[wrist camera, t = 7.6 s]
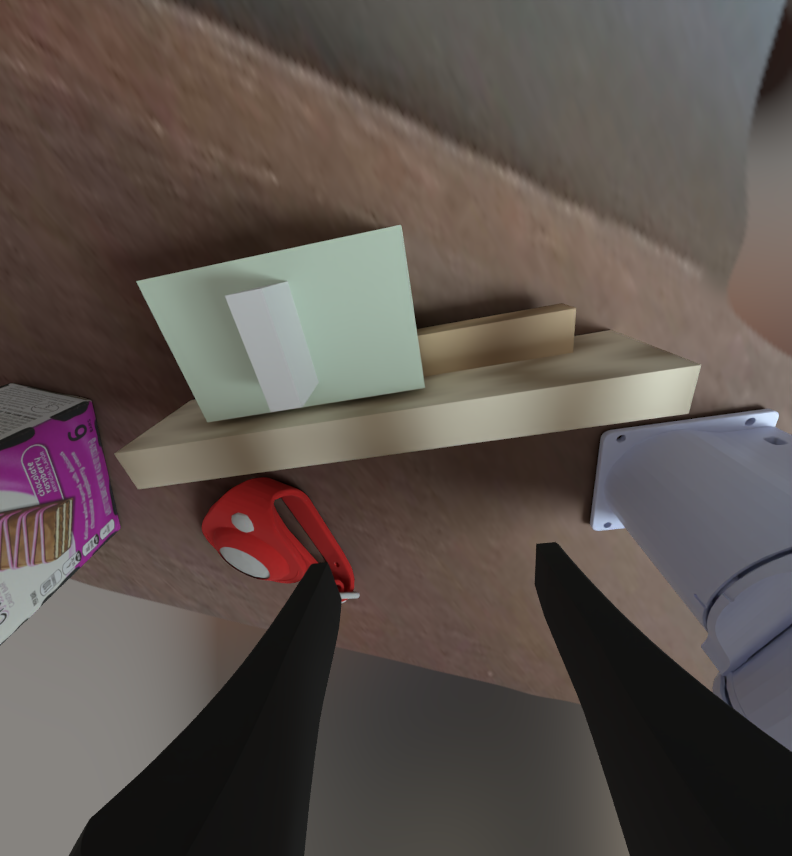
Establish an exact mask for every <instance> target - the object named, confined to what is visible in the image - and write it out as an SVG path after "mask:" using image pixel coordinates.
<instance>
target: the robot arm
mask: <svg viewBox="0 0 792 856" xmlns="http://www.w3.org/2000/svg"><path fill="white" fill-rule="evenodd" d="M778 417H779V414H778V412H776V411H774V410H772V409H761V410H754V411H746V412H739V413H732V414H724V415H717V416H709V417H702V418H695V419H687V420H680V421H673V422H665V423H658V424H651V425H643V426H636V427H629V428H621V429H614V430H608V431H606V432H604V433H603V434H602V436H601V439H600V447H599V455H598V463H597V471H596V479H595V487H594V494H593V502H592V510H591V518H590V525H591V527H592V528H593V529H594V530H596V531H601V530H610V529H620V528H626V529H627V531H628V532H629V533H630V535H631V536H632V537H633V538H634V540H635V541H636V542H637V543H638V545H639V546H640V547H641V548H642V550H643V551H644V552H645V554H646V555H647V556H648V557H649V559H650V560H651V561H652V562H653V564H654V565H655V566H656V568H657V569H658V570H659V571H660V573H661V574H662V575H663V576H664V578H665V579H666V580H667V581H668V583H669V584H670V585H671V587H672V588H673V589H674V590H675V592H676V593H677V594H678V595H679V597H680V598H681V599H682V600H683V602H684V603H685V604H686V606H687V607H688V608H689V609H690V611H691V612H692V613H693V614H694V616H695V617H696V618H697V619H698V621H699V622H700V623H701V625H702V626H703V627H704V628H705V630H706V631H707V632H708V637H707V639H706V640H705V642H704V643H703V644H702V645H701V648H702V649H703V650H704V652H705V653H706V654H707V656H708V657H709V658H710V660H711V661H712V662H713V664H714V665H715V666H716V668H717V669H718V670H719V673H718V674H717V676H716V677H715V679H714V683H713V687H712V689H713V692H711V691H710V690H709V689H707V688H706V687H705V686H704V685H703V684H701V683H700V682H699V681H698V680H696V679H695V678H694V677H693V676H692V675H690V674H689V673H688V672H687V671H685V670H684V669H683V668H682V667H681V666H680V665H678V664H677V663H676V662H675V661H674V660H673V659H671V658H670V657H669V656H668V655H667V654H666V653H664V652H663V651H662V650H661V649H660V648H659V647H658V646H656V645H655V644H654V643H653V642H652V641H651V640H650V639H649V638H648V637H647V636H645V635H644V634H643V633H642V632H641V631H640V630H639V629H638V628H637V627H636V626H635V625H634V624H633V623H632V622H631V621H629V620H628V619H627V618H626V617H625V616H624V615H623V614H622V613H621V612H620V611H619V610H618V609H617V608H616V607H615V606H614V605H613V604H612V603H611V602H610V601H609V600H608V599H607V598H606V597H605V596H604V595H603V593H602V592H601V591H600V590H599V589H598V588H597V587H596V586H595V585H594V584H593V583H592V582H591V581H590V580H589V579H588V578H587V577H586V575H585V574H584V573H583V572H582V571H581V570H580V569H579V568H578V567H577V565H576V564H575V563H574V562H573V561H572V560H571V559H570V557H569V556H568V555H567V554H566V553H565V552H564V550H563V549H562V548H561V547H560V546H559V544H557V543H556V542H552V543H541V544H536V566H535V587H536V590H537V594H538V597H539V600H540V604H541V607H542V610H543V613H544V616H545V619H546V621H547V624H548V626H549V629H550V631H551V633H552V636H553V638H554V641H555V643H556V645H557V648H558V650H559V653H560V655H561V657H562V660H563V662H564V664H565V667H566V669H567V671H568V674H569V676H570V679H571V681H572V683H573V686H574V688H575V690H576V693H577V695H578V698H579V700H580V703H581V706H582V708H583V711H584V714H585V717H586V720H587V722H588V725H589V729H590V731H591V734H592V737H593V740H594V743H595V746H596V749H597V752H598V755H599V759H600V761H601V765H602V768H603V771H604V774H605V777H606V780H607V783H608V786H609V790H610V793H611V796H612V799H613V802H614V805H615V809H616V812H617V815H618V818H619V822H620V825H621V828H622V831H623V835H624V838H625V841H626V844H627V848H628V851H629V854H630V856H792V435H791V434H789V433H786V432H784V431H782V430H780V429H778V428H776V427H775V425H776V423H777V420H778ZM746 420H747V421H746ZM620 435H622V436H621V438H619V439H617V437H619V436H620ZM341 602H342V598H341V595H340V593H339V590H338V587H337V585H336V582H335V580H334V577H333V574H332V572H331V569H330V566H329V564H328V562H325V563H314V564H311V565H310V566H309V568H308V569H307V571H306V573H305V574H304V576H303V577H302V579H301V580H300V582H299V584H298V585H297V587H296V588H295V590H294V591H293V593H292V595H291V596H290V598H289V599H288V601H287V602H286V604H285V605H284V607H283V608H282V610H281V611H280V613H279V614H278V615H277V617H276V618H275V620H274V621H273V623H272V624H271V626H270V627H269V629H268V630H267V631H266V633H265V634H264V635H263V637H262V638H261V639H260V641H259V642H258V644H257V645H256V646H255V648H254V649H253V650H252V652H251V653H250V654H249V656H248V657H247V658H246V659H245V661H244V662H243V664H242V665H241V666H240V667H239V668H238V670H237V671H236V672H235V673H234V674H233V676H232V677H231V678H230V679H229V680H228V682H227V683H226V684H225V685H224V686H223V688H222V689H221V690H220V691H219V692H218V693H217V694H216V696H215V697H214V698H213V699H212V700H211V701H210V702H209V703H208V705H207V706H206V707H205V708H204V709H203V710H202V711H201V712H200V713H199V715H198V716H197V717H196V718H195V719H194V720H193V721H192V722H191V723H190V724H189V725H188V726H187V727H186V728H185V729H184V731H182V732H181V733H180V734H179V735H178V736H177V738H175V739H174V740H173V741H172V743H170V744H169V745H168V746H167V748H166V749H165V750H163V751H162V752H161V754H160V755H159V756H158V757H157V758H156V759H155V760H153V761H152V762H151V763H150V764H149V765H148V766H147V767H146V768H145V769H144V770H143V771H142V772H141V773H140V774H139V775H138V776H137V777H136V778H135V779H134V780H132V781H131V782H130V783H129V784H128V785H127V786H126V787H125V788H123V789H122V790H121V791H120V792H119V793H118V794H117V795H116V796H115V797H114V798H113V799H111V800H110V801H109V802H108V803H107V804H106V805H105V806H104V807H103V808H102V809H100V810H99V811H98V812H97V813H96V814H95V815H94V816H92V817H91V819H90V820H89V821H88V823H87V825H86V826H85V828H84V830H83V832H82V833H81V835H80V837H79V838H78V840H77V842H76V844H75V846H74V847H73V849H72V851H71V853H70V854H69V856H304V851H305V840H306V831H307V821H308V811H309V800H310V792H311V784H312V775H313V767H314V759H315V751H316V744H317V737H318V729H319V722H320V716H321V711H322V705H323V700H324V696H325V691H326V687H327V682H328V678H329V673H330V668H331V664H332V659H333V654H334V649H335V645H336V640H337V635H338V631H339V622H340V613H341Z"/></svg>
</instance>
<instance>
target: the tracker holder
mask: <svg viewBox="0 0 792 856" xmlns="http://www.w3.org/2000/svg"><path fill="white" fill-rule="evenodd" d="M278 498H282V499H283V501H284V502H285V504H286V505H287V506H288V508H289V509H290V511H291V512H292V513H293V515H294V516H295V518H296V519H297V520H298V522H299V523H300V525H301V526H302V527H303V529H304V530H305V532H306V533H307V534H308V536H309V537H310V539H311V540H312V541H313V543H314V544H315V546H316V547H317V549H318V550H319V551H320V553H321V554H322V555H323V556H324V558H325V560H326V562H328V564H329V566H330V569H331V571H332V574H333V577H334V580H335V582H336V585H337V587H338V590H339V593H340V595H341V598H342V602H341V603H343V602H345V601H346V600H347V599H350V598H359V593H358V592H354V591H353V589H354V575H353V571H352V568H351V565H350V563H349V562H348V560H347V558H346V556H345V554H344V553H343V551H342V549H341V548H340V546H339V545H338V543H337V541H336V540H335V538H334V537H333V535H332V534H331V532H330V530H329V529H328V527H327V526H326V524H325V522H324V521H323V519H322V518H321V516H320V515H319V513H318V511H317V510H316V508H315V507H314V505H313V503H312V502H311V500H310V499H309V497H308V496H307V495H306V494H305V493H304V492H302V491H301V490H299V489H296V488H294V487H291V486H289V485H286V484H283V483H281V482H278V481H276V480H273V479H270V478H266V477H262V478H254V479H250V480H247V481H245V482H243V483H241V484H239V485H237V486H235V487H233V488H232V489H230V490H229V491H227V492H226V493H225V494H224V495H223V496H222V497H221V498H220V499H219V500H218V501H217V502H216V503H214V505H213V506H212V507H211V508H210V509H209V511H208V513H207V514H206V516H205V518H204V520H203V523H202V532H203V534H204V536H205V537H206V539H207V540H208V541H209V543H210V544H211V545H212V546H213V547H214V548H215V549H216V550H217V551H218V553H219V554H220V556H221V557H222V558H223V559H224V560H225V561H226V562H227V563H228V564H229V565H231V566H232V567H233V568H235V569H236V570H238V571H240V572H242V573H244V574H246V575H248V576H250V577H253V578H257V579H261V580H271V581H275V582H280V583H295V582H298V581H300V580H301V579H302V577H303V576H304V574H305V573H306V571H307V569H308V568H309V566H310V565H311V564H314V563H318V562H317V561H316V560H315V559H314V557H313V556H312V555H311V554H310V553H309V552H308V551H307V550H306V549H305V547H304V546H303V545H302V544H301V543H300V542H299V541H298V540H297V538H296V537H295V536H294V535H293V534H292V533H291V532H290V531H289V530H288V528H287V527H286V526H285V524H284V522H283V521H282V519H281V518H280V516H279V514H278V513H277V511H276V509H275V506H274V500H275V499H278Z"/></svg>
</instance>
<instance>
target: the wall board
mask: <svg viewBox="0 0 792 856" xmlns="http://www.w3.org/2000/svg"><path fill="white" fill-rule="evenodd" d="M575 317H576V308H574V307H571V306H568V305H565V304H562V303H561V304H556V305H550V306H544V307H539V308H533V309H527V310H522V311H516V312H510V313H505V314H499V315H494V316H488V317H482V318H477V319H471V320H465V321H460V322H454V323H448V324H443V325H437V326H432V327H426V328H420V329H417V335H418V342H419V349H420V356H421V362H422V369H423V376H424V384H425V388H422V389H416V390H409V391H403V392H397V393H390V394H384V395H378V396H371V397H365V398H359V399H352V400H346V401H340V402H333V403H327V404H321V405H314V406H308V407H302V408H295V409H289V410H283V411H277V412H270V413H264V414H258V415H251V416H245V417H239V418H232V419H226V420H220V421H213V422H207V421H206V419H205V417H204V415H203V413H202V411H201V409H200V407H199V405H198V403H197V401H196V399H194V400H190V401H189V402H188V403H186V404H185V405H183V406H182V407H180V408H179V409H178V410H176V411H175V412H173V413H172V414H170V415H169V416H168V417H166V418H165V419H163V420H162V421H160V422H159V423H157V424H156V425H155V426H153V427H152V428H150V429H149V430H147V431H146V432H145V433H143V434H142V435H140V436H139V437H137V438H136V439H135V440H133V441H132V442H130V443H129V444H127V445H126V446H125V447H123V448H122V449H120V450H119V451H117V452H116V453H114V455H115V456H116V458H117V459H118V461H119V462H120V464H121V465H122V466H123V468H124V469H125V471H126V472H127V474H128V475H129V477H130V478H131V480H132V481H133V483H134V484H135V485H136V487H137V488H138V489H144V488H152V487H159V486H166V485H173V484H181V483H188V482H195V481H202V480H210V479H217V478H224V477H231V476H239V475H246V474H253V473H261V472H268V471H275V470H282V469H290V468H297V467H304V466H311V465H319V464H326V463H333V462H340V461H348V460H355V459H362V458H370V457H377V456H384V455H391V454H399V453H406V452H413V451H420V450H428V449H435V448H442V447H449V446H457V445H464V444H471V443H478V442H486V441H493V440H500V439H508V438H515V437H522V436H529V435H537V434H544V433H551V432H558V431H566V430H573V429H580V428H587V427H595V426H602V425H609V424H617V423H624V422H631V421H638V420H646V419H653V418H660V417H667V416H675V415H682V414H689V410H690V406H691V402H692V398H693V395H694V391H695V387H696V383H697V379H698V375H699V371H700V368H701V365H700V364H698V363H695V362H693V361H690V360H688V359H685V358H682V357H680V356H677V355H675V354H672V353H670V352H667V351H664V350H662V349H659V348H657V347H654V346H652V345H649V344H646V343H644V342H641V341H639V340H636V339H634V338H631V337H628V336H626V335H623V334H621V333H618V332H616V331H613V330H608V331H602V332H596V333H590V334H584V335H578V336H574V332H575Z"/></svg>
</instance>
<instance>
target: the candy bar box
mask: <svg viewBox="0 0 792 856" xmlns="http://www.w3.org/2000/svg"><path fill="white" fill-rule="evenodd" d="M120 528H121V527H120V523H119V518H118V514H117V511H116V506H115V502H114V497H113V493H112V489H111V484H110V480H109V475H108V471H107V466H106V462H105V458H104V454H103V449H102V444H101V440H100V435H99V431H98V427H97V421H96V417H95V413H94V408H93V404H92V401H91V400H89V399H86V398H82V397H78V396H73V395H66V394H60V393H55V392H50V391H46V390H42V389H38V388H33V387H29V386H23V385H18V384H13V383H10V384H7V385H4V386H1V387H0V645H1V644H2V643H3V642H5V641H6V640H7V639H8V637H10V636H11V635H12V634H13V633H14V632H15V631H16V630H17V629H18V628H19V627H20V626H21V625H22V624H23V623H24V622H25V621H27V620H28V619H29V618H30V617H31V616H32V615H33V614H34V613H35V612H36V611H37V610H38V609H39V608H40V607H41V606H42V605H43V603H44V602H46V601H47V599H48V598H50V597H51V596H52V595H53V594H54V593H55V592H56V591H57V590H58V589H59V588H60V587H61V586H62V585H63V584H64V583H65V582H66V581H67V580H68V579H69V578H70V577H71V576H72V575H73V574H74V573H75V572H76V571H77V570H78V569H79V568H80V567H81V566H82V565H83V564H84V563H85V562H86V561H87V560H88V559H89V558H90V557H91V556H92V555H94V554H95V553H96V552H97V551H98V550H99V549H100V548H101V547H102V546H103V545H104V544H105V543H106V542H107V541H108V540H109V539H110V538H111V537H112V536H113V535H114V534H115V533H116V532H117V531H118V530H120Z"/></svg>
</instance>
